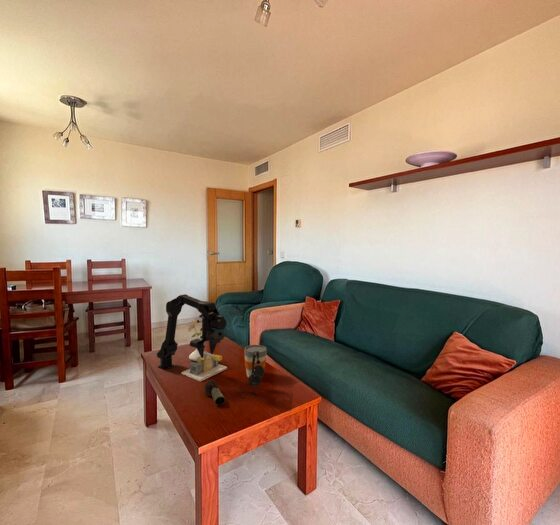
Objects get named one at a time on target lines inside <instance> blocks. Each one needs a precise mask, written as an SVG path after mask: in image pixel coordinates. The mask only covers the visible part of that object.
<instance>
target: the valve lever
mask: <svg viewBox="0 0 560 525" xmlns="http://www.w3.org/2000/svg"><path fill="white" fill-rule="evenodd" d="M206 356H209V357H212V358H213V360H216V361H218V362H219V361H222V360H223V355H219V354H214V353H213V354H211V352H208V351H206V350H204V356H203V357H204V358H205V357H206Z"/></svg>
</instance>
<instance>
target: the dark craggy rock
mask: <svg viewBox="0 0 560 525" xmlns="http://www.w3.org/2000/svg"><path fill="white" fill-rule="evenodd" d="M204 394H205V395H206V396H207V397H212V399H213V401H214V404H215V405H216V406H222V405H224V404H225V403H226V398H225V396H224V394H223V392H222V391H221V389H220V387H219V385H218V382H217V381H216V380H214V379H213V380H211V379H210V380H207V381H206V382H205V385H204Z"/></svg>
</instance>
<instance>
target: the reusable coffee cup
mask: <svg viewBox="0 0 560 525" xmlns="http://www.w3.org/2000/svg"><path fill="white" fill-rule="evenodd" d="M255 351H259V356H260V364H256V363H257V355H256V358H255V363H254V367H255V366H256V365H261V366H262V367H263V368H264V369H265V368H266V364H267V363H266V362H267V355H268V350H267V347H266V346H264V345H262V344H261V345H259V344H252V345H251V344H250V345H247V346H245V347H244V352H243V354H244V367H245V371H246V376H247V378H249V376H250V375H251V372H252V359H253V354H254V352H255Z"/></svg>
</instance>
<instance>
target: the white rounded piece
mask: <svg viewBox="0 0 560 525" xmlns="http://www.w3.org/2000/svg"><path fill="white" fill-rule="evenodd" d="M197 324H198V320H197V319H196V320H194V321H192V322H191V324H190V325H189V327H188V328H187V331H188V332H191V331H192V330H195V333H194V334H192V335H191V338H194V339H199V340H202V339H201V338H200V336H202V331H200V330H199V331H198V332H197V330H196V325H197ZM198 357H200V354H199V352H198V350H197V348H195V350H194V351H192V353H190V354H189V356H188V358H189V360H190V361H192V362H194V361H195V362H197V358H198Z"/></svg>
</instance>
